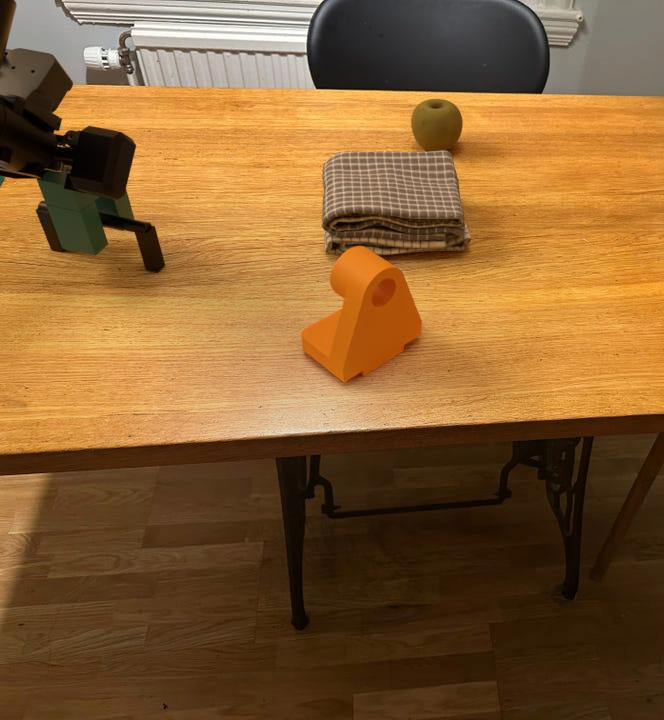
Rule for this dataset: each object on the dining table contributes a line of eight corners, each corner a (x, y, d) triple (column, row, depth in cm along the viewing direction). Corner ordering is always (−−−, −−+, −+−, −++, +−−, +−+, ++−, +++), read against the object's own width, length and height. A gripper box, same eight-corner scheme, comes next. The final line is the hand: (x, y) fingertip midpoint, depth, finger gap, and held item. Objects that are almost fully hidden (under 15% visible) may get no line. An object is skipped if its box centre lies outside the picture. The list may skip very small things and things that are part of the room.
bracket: (376, 308, 79) (374, 217, 71) (421, 340, 76) (425, 248, 68) (299, 352, 73) (287, 257, 65) (344, 388, 70) (338, 293, 62)
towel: (323, 197, 95) (319, 144, 90) (455, 196, 99) (459, 145, 93) (324, 262, 85) (319, 206, 79) (472, 259, 88) (477, 205, 83)
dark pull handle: (158, 273, 80) (145, 227, 76) (50, 249, 82) (32, 204, 77) (165, 265, 81) (153, 220, 77) (59, 242, 83) (42, 197, 79)
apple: (400, 144, 109) (401, 99, 104) (441, 133, 113) (443, 89, 108) (430, 164, 105) (432, 119, 100) (470, 152, 109) (474, 108, 104)
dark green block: (95, 255, 76) (71, 186, 71) (62, 248, 77) (35, 179, 71) (135, 220, 82) (116, 153, 76) (104, 214, 82) (82, 147, 76)
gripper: (95, 48, 60) (187, 120, 75) (-98, 13, 62) (30, 90, 77) (64, 173, 59) (163, 220, 75) (-130, 134, 61) (6, 187, 77)
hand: (91, 176), depth 76 cm, fingers closed on dark green block, 4 cm apart
